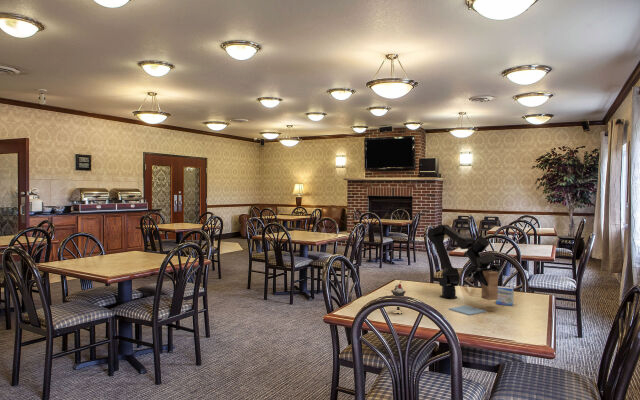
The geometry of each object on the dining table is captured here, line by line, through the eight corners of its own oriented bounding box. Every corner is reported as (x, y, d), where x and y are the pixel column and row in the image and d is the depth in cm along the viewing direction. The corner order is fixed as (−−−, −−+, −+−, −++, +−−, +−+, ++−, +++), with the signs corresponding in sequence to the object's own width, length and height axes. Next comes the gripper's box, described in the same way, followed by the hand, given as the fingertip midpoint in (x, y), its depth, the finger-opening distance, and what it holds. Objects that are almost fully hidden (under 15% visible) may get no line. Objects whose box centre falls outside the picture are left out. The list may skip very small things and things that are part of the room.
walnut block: (481, 297, 221) (482, 270, 220) (489, 297, 223) (490, 270, 222) (488, 300, 216) (490, 272, 216) (497, 299, 218) (498, 272, 218)
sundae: (402, 315, 209) (402, 282, 209) (388, 313, 213) (389, 281, 213) (407, 312, 215) (408, 280, 215) (394, 310, 219) (394, 278, 218)
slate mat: (448, 309, 221) (448, 308, 221) (465, 306, 227) (465, 305, 227) (469, 315, 211) (469, 314, 211) (486, 311, 217) (486, 310, 217)
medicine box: (495, 304, 233) (496, 287, 232) (496, 302, 237) (497, 285, 236) (512, 306, 229) (512, 288, 229) (513, 304, 233) (513, 287, 233)
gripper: (469, 249, 219) (485, 276, 209) (499, 247, 226) (516, 274, 216) (457, 263, 226) (473, 290, 216) (487, 261, 234) (503, 287, 224)
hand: (491, 285), depth 218 cm, fingers closed on walnut block, 5 cm apart
